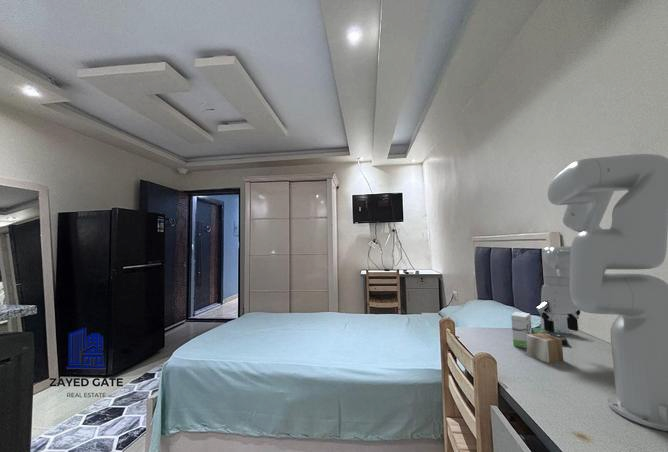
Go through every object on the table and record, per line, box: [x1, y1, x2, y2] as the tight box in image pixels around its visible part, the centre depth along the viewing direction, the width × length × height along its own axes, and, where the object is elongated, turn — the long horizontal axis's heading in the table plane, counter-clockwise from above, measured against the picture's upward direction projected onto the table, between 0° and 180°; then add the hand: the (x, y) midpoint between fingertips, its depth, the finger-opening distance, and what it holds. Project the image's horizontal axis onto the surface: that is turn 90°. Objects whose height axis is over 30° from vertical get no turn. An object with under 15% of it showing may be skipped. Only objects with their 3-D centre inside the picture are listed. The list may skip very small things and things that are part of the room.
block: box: [526, 333, 564, 364], centre depth 94 cm, size 7×7×7 cm
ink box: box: [510, 311, 532, 349], centre depth 107 cm, size 9×5×12 cm, turn 134°
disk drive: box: [531, 327, 569, 347], centre depth 113 cm, size 10×3×15 cm
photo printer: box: [539, 303, 570, 335], centre depth 123 cm, size 10×4×12 cm, turn 36°
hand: (561, 330), depth 96 cm, fingers open, 9 cm apart
